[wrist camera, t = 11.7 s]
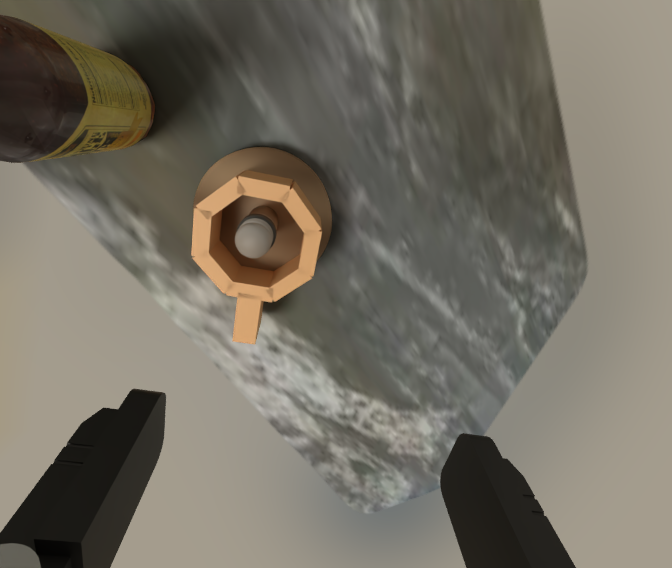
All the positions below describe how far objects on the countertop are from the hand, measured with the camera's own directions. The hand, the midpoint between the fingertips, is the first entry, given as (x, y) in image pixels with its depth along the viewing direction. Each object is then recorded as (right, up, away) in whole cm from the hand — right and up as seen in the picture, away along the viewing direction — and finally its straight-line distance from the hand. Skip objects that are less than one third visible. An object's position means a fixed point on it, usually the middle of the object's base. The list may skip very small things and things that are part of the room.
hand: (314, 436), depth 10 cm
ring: (-6, +7, +21) cm, 23 cm away
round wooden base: (-5, +10, +21) cm, 24 cm away
